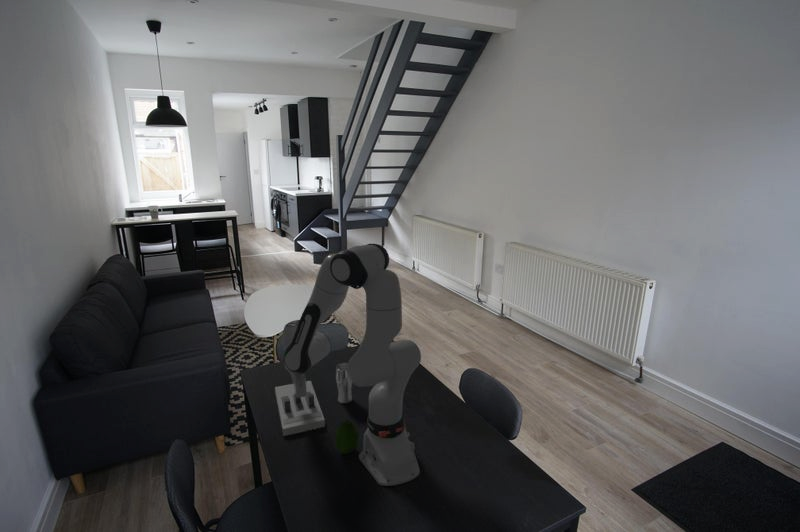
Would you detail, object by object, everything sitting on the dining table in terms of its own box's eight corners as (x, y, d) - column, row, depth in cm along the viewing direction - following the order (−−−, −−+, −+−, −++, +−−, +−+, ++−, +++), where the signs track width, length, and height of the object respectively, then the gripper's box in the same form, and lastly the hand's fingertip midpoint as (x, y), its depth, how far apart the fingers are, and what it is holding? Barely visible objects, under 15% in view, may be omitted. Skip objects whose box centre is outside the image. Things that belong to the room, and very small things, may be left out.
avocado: (337, 461, 139) (336, 429, 136) (334, 445, 146) (333, 415, 143) (361, 456, 141) (360, 425, 138) (357, 441, 148) (356, 411, 145)
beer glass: (355, 395, 177) (354, 362, 173) (351, 404, 170) (350, 371, 166) (339, 394, 177) (337, 362, 174) (334, 403, 171) (333, 370, 167)
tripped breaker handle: (301, 402, 166) (300, 393, 165) (295, 403, 165) (295, 394, 164) (300, 399, 167) (299, 390, 166) (295, 400, 167) (294, 391, 166)
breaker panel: (324, 426, 156) (324, 409, 154) (283, 436, 151) (282, 417, 149) (310, 386, 183) (310, 371, 181) (275, 393, 178) (274, 377, 176)
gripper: (310, 374, 148) (311, 408, 151) (301, 348, 166) (302, 379, 170) (291, 377, 145) (293, 412, 149) (284, 351, 164) (286, 382, 168)
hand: (298, 394), depth 160 cm, fingers closed
